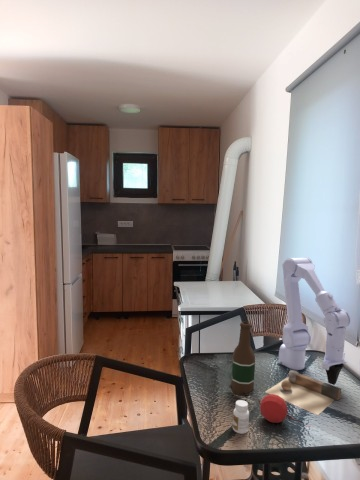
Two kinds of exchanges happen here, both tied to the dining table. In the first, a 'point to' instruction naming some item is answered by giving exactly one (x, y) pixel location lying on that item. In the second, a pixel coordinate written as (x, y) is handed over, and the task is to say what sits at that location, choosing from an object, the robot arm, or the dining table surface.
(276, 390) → the board
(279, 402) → the red round piece
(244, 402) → the pill bottle
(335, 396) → the lever
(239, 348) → the beer bottle
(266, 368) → the dining table surface
